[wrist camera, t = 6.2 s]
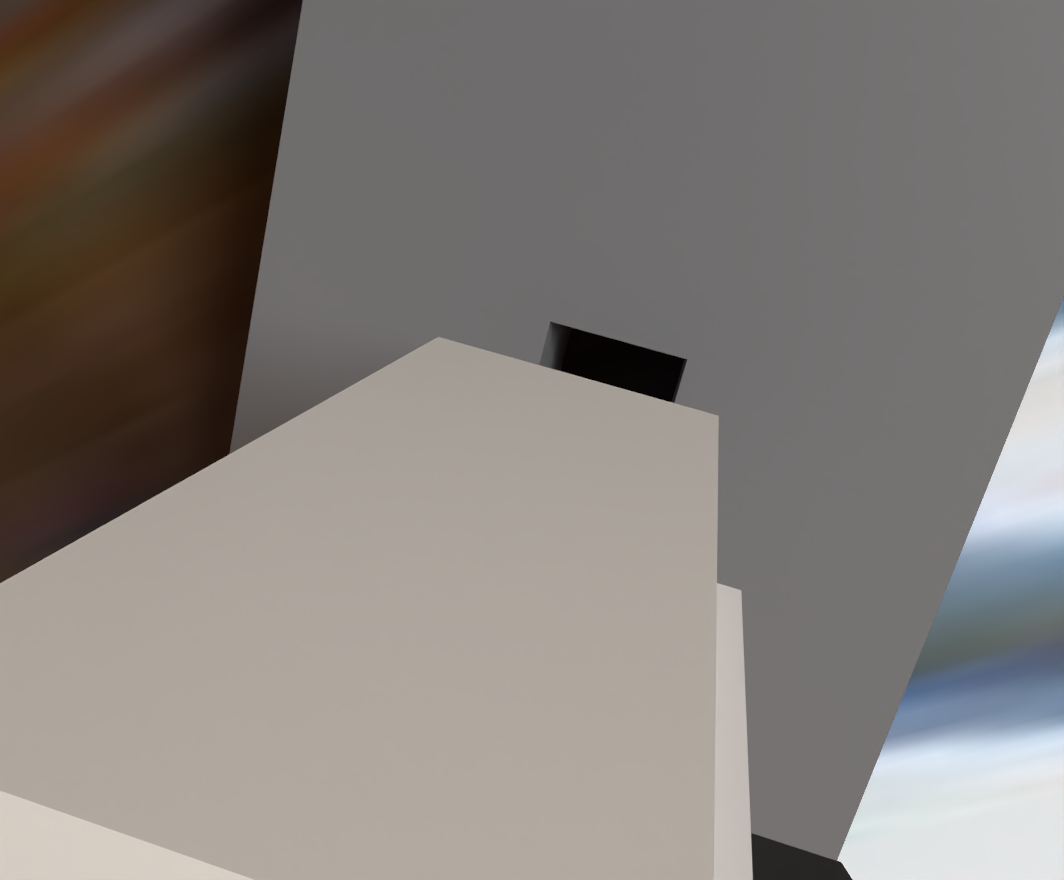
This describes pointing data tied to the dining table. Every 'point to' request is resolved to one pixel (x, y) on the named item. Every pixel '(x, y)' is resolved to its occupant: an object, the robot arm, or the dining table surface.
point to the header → (707, 282)
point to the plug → (384, 647)
